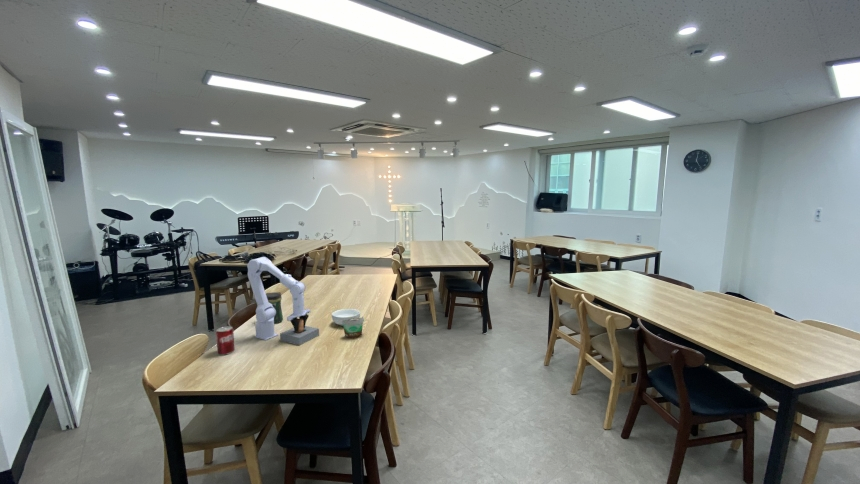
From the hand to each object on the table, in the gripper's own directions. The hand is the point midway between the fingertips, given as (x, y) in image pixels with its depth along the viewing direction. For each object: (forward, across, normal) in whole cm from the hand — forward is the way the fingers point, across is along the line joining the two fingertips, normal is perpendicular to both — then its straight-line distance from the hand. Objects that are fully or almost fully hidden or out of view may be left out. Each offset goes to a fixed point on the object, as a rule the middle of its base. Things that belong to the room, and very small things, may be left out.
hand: (299, 329), depth 178 cm
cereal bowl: (+5, +28, -9) cm, 30 cm away
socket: (+5, 0, 0) cm, 5 cm away
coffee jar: (+5, +12, +34) cm, 36 cm away
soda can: (+5, -28, +20) cm, 35 cm away
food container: (+5, +14, -26) cm, 30 cm away
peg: (+2, 0, 0) cm, 2 cm away
